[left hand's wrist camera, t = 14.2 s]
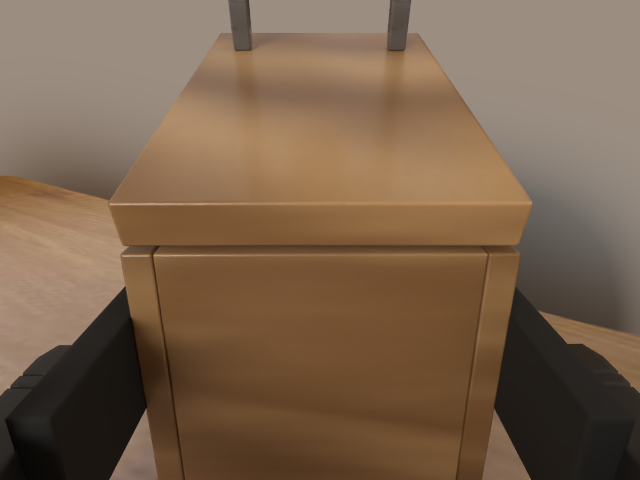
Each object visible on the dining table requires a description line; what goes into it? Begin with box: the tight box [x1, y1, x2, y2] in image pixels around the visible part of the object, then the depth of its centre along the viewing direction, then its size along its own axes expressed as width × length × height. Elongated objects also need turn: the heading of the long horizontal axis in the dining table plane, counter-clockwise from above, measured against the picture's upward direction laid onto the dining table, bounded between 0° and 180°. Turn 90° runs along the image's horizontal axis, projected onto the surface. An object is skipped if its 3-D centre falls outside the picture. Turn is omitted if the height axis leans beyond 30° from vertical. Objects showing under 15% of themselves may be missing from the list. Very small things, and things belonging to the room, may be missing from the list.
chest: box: [121, 246, 520, 480], centre depth 18 cm, size 13×9×9 cm
